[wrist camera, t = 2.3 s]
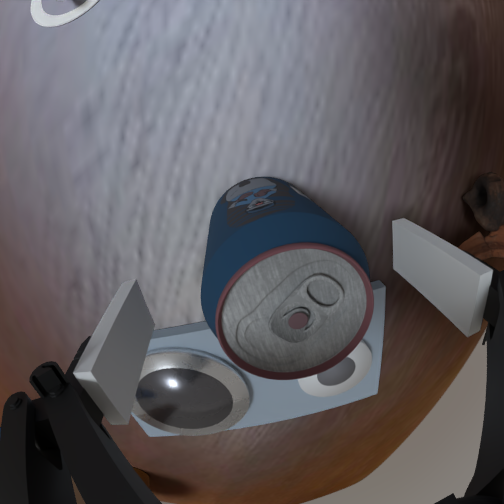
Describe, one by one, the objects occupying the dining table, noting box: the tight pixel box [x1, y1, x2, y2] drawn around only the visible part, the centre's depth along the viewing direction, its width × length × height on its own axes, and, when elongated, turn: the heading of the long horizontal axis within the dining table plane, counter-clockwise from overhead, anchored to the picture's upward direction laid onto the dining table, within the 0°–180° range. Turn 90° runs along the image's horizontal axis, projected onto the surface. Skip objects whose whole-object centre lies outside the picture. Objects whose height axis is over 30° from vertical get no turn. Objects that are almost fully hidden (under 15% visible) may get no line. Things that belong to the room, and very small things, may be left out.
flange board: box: [131, 280, 386, 437], centre depth 25 cm, size 26×14×2 cm, turn 102°
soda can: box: [201, 177, 374, 380], centre depth 16 cm, size 7×7×12 cm
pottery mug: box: [457, 172, 504, 260], centre depth 20 cm, size 12×10×8 cm
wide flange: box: [132, 347, 249, 436], centre depth 25 cm, size 12×12×1 cm
